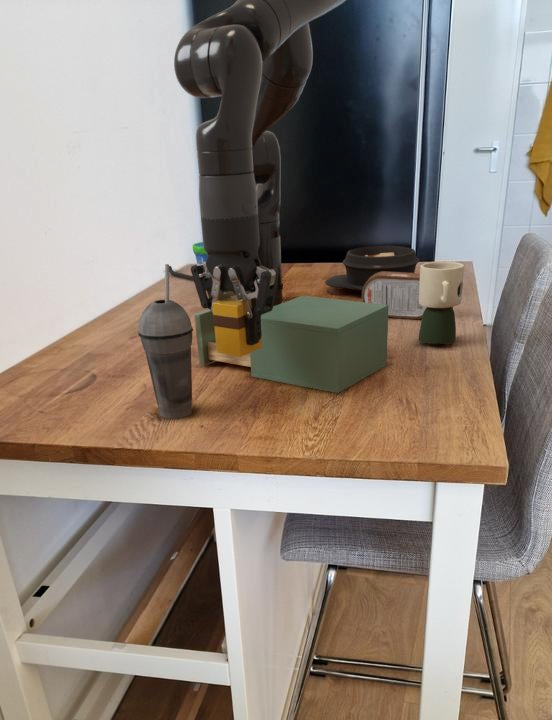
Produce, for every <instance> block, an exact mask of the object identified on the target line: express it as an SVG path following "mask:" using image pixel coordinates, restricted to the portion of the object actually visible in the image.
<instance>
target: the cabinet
mask: <svg viewBox="0 0 552 720" xmlns="http://www.w3.org/2000/svg"><path fill="white" fill-rule="evenodd" d="M388 309H389V305H383V304H374V303H365V302H363V301H357V300H348V299H347V300H345V299H337V298H329V297H319V296H310V295H301V296H298V297H296V298H295V297H294V298H292V299H290V300H287V301H285V302H283V303H282V304H279V305H277V306H274V307H273V309H272V311H270V312H267V313H265V314H262V315H261V332H262V336H261V338H262V348H260V349H257V350H255V351H253V352H250V361H251V367H250V374H251V377H252V378H256V379H262V380H267V381H272V382H278V383H283V384H288V385H293V386H298V387H304V388H308V389H309V388H310V389H315V390H319V391H323V392H324V391H325V392H330V393H335V394H339V393H341V392H343V391H344V390H346V389H348V388H350V387H351V386H353V385H355V384H356V383H359V382H360V381H361V380H363V379H365V378H367V377H368V376H370V375H372V374H374V373H375V372H377V371H379V370H381V369H382V368H384V367H385V366H387V365H388V337H389V335H388V333H389V317H388Z"/></svg>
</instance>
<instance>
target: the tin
mask: <svg viewBox="0 0 552 720" xmlns="http://www.w3.org/2000/svg"><path fill="white" fill-rule="evenodd" d="M419 283H420V272H414V273H403V272H385V271H383V272H378V273H375V274H374V275H372V276H371V277H370V278H369V279H368V281H367V282H366V283H365V285H364V287H363V289H362V293H361V302H365V303H374V304H383V305H389V309H388V318H392V319H393V318H394V319H404V320H405V319H406V320H422V316H423V312H424V310H425V309H426V308H427V307H424V306H422V305H420V304H419Z"/></svg>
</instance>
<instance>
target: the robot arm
mask: <svg viewBox="0 0 552 720" xmlns="http://www.w3.org/2000/svg"><path fill="white" fill-rule="evenodd" d="M346 1H347V0H236V1H235V2H234V3H233V4H232V5H231V6H230V7H228V8H226V9H224V10H221V11H219V12H217V13H215V14H213V15H211V16H210V17H207V18H206V19H204V20H202V21H201V22H199V23H196V24H195V25H193V26H192V27H191V28H190V29H188V30H187V31H186V32H185V33H184V34H183V36H182V37H181V38H180V39H179V42H178V43H177V46H176V48H175V52H174V58H173V69H174V74H175V77H176V80H177V82H178V84H179V86H180V87H181V88H182V89H183V90H184V92H186V93H187V94H188V95H190V96H192V97H194V98H199V99H211V98H212V99H213V98H221V99H220V105H219V109H218V111H217V114H216V116H215V117H214V118H212V119H209V120H207V121H204V122H202V123H201V124H199V125H198V126H197V127H196V131H195V146H196V147H195V148H196V160H197V170H198V203H199V204H198V205H199V213H200V224H201V236H202V242H203V247H204V250H205V251H206V252H208V255H207V259H206V263H200V264H197V263H196V264H194V265H191V266H190V273H191V274H186V273H182V272H177V271H174V270H173V267H172V265H169V275H172V276H175V277H179V278H183V279H186V280H191V281H193V282H194V287H195V288H196V292H197V296H198V299H199V302H200V306H201V308H203V310H204V309H205V310H208V309H210V310H211V311H212V313H213V305H212V303H214V302H217V301H221V300H223V299H226V298H229V297H232V296H234V295H236V296H237V299H238V301H239V302H240V303H241V304H243V309H244V313H245V316H246V319H245V331H246V343H247V345H254V344H257V343H258V342H259V340H260V339H261V336H262V332H261V315H262V314H265V313H267V312H270V311H272V309H273V307H274V306H277V305H279V304H282V303H284V299H283V298H284V297H283V289H284V284H283V273H282V249H281V248H282V247H281V229H280V224H281V223H280V208H281V197H282V196H281V179H282V178H281V177H282V174H281V171H282V170H281V169H282V163H281V161H282V159H281V158H282V157H281V147H280V144H279V140H278V138H277V136H276V134H275V133H274V132H272V131H270V130H268V129H270V128H271V127H273V126H274V124H276V123H277V122H278V121H280V120H281V119H282V118H283V117H284V116H285V115H286V114H287V113H288V112H289V111H290V110H292V109H293V108H294V106H295V105H296V104H297V102H298V101H299V99H300V97H301V95H302V93H303V91H304V88H305V86H306V84H307V81H308V79H309V76H310V74H311V71H312V67H313V57H314V52H313V42H312V41H313V40H312V34H311V29H310V23H312V22H314V21H315V20H317V19H319V18H321V17H323V16H325V15H326V14H328V13H330V12H331V11H333V10H334V9H337V8H338V7H339V6H341V5H342V4H344V3H345V2H346ZM211 276H212V277H213V281H212V277H211ZM250 301H252V306H251V302H250Z"/></svg>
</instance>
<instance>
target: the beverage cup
mask: <svg viewBox="0 0 552 720" xmlns="http://www.w3.org/2000/svg"><path fill="white" fill-rule="evenodd" d="M169 266H170V264H169V263H165V264H164V298H163V299H156V300H154V301H152V302H150V303H149V304H148V305H147V306H146V307H145V308H144V309H143V310H142V312H141V314H140V317H139V321H138V332H137V333H138V337H140V342H141V345H142V347H143V350H144V353H145V357H146V361H147V365H148V370H149V375H150V378H151V381H152V382H151V384H152V388H153V391H154V396H155V400H156V404H157V407H158V411H159V415H160V417H161V418H163V419H164V418H165V419H170V420H175V419H181V418H185V417H187V416H190V415H191V414H192V413H193V409H192V407H193V378H192V377H193V375H192V345H193V332H194V327H193V326H192V321H191V319H190V318H191V317H190V316H189V315H188V312H187V311H186V309H185V308H184V307H183V306H182V305H180V304H179V303H178V302H176V301H174V300H171V299H170V272H169Z"/></svg>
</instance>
